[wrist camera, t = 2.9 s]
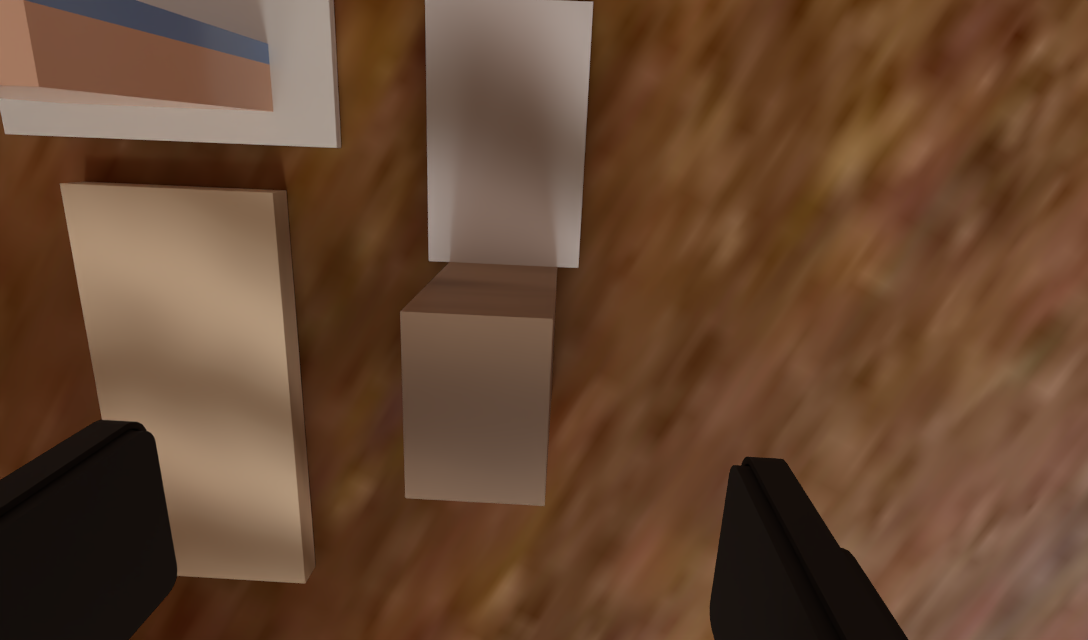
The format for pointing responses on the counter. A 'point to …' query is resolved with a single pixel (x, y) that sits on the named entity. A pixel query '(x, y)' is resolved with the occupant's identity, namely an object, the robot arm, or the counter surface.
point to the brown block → (494, 244)
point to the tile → (127, 57)
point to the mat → (297, 119)
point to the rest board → (203, 363)
